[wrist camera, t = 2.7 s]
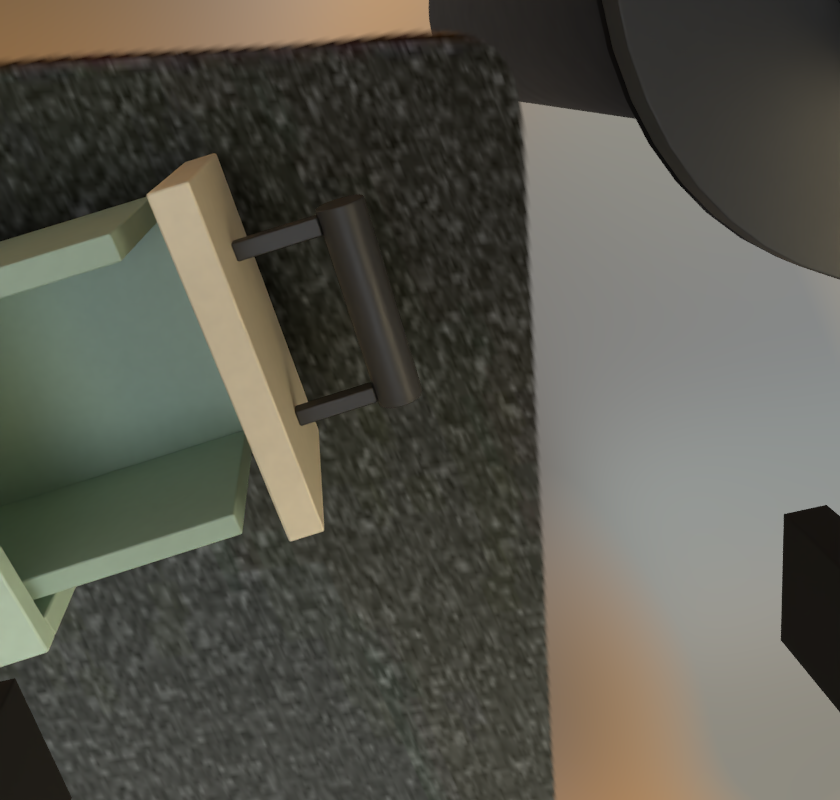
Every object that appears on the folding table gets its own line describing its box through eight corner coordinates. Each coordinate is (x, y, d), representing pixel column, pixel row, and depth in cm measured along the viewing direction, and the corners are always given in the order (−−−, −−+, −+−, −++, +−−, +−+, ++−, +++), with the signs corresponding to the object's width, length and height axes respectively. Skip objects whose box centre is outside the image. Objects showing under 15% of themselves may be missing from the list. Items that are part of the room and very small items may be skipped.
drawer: (335, 115, 28) (348, 131, 21) (421, 398, 33) (456, 490, 26) (-184, 274, 28) (-350, 346, 21) (-23, 538, 32) (-113, 671, 25)
